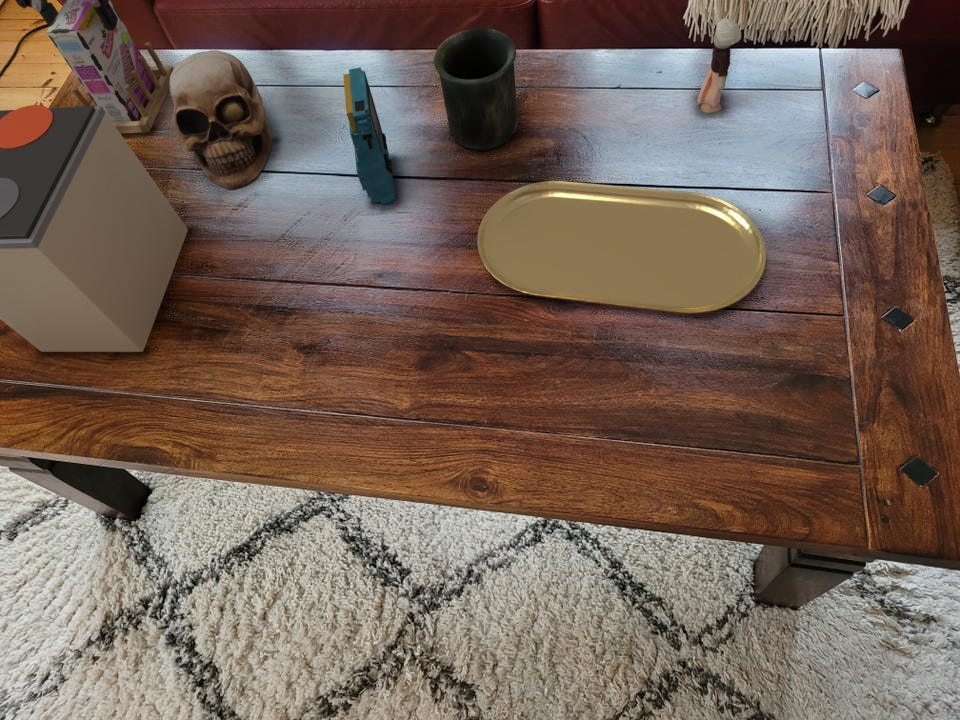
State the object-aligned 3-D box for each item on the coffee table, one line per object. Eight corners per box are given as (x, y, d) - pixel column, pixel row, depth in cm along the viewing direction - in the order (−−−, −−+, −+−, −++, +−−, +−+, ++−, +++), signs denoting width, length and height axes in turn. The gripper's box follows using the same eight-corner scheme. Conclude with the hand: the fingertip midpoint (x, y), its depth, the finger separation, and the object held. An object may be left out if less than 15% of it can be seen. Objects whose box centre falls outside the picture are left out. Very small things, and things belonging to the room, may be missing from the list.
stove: (41, 352, 87) (-99, 241, 69) (96, 231, 97) (-14, 107, 79) (143, 352, 85) (27, 238, 67) (188, 229, 96) (98, 101, 77)
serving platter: (761, 330, 77) (764, 322, 76) (463, 293, 85) (461, 286, 83) (764, 207, 86) (767, 198, 85) (495, 183, 94) (494, 175, 92)
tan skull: (235, 195, 98) (187, 114, 87) (167, 161, 106) (116, 83, 95) (312, 133, 104) (276, 49, 93) (243, 105, 112) (202, 26, 101)
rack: (92, 134, 109) (64, 98, 103) (122, 75, 116) (98, 38, 110) (149, 132, 107) (125, 95, 101) (176, 72, 115) (154, 34, 109)
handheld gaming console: (398, 204, 94) (371, 114, 81) (369, 210, 94) (337, 121, 81) (392, 155, 99) (366, 64, 86) (364, 160, 99) (334, 70, 86)
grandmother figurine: (690, 89, 99) (705, 6, 88) (717, 85, 99) (735, 1, 88) (702, 125, 95) (719, 42, 84) (730, 121, 95) (751, 38, 84)
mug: (442, 154, 98) (427, 82, 87) (455, 87, 105) (443, 13, 95) (517, 154, 96) (511, 81, 86) (526, 86, 103) (521, 11, 93)
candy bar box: (139, 125, 109) (76, 30, 95) (110, 127, 109) (43, 33, 95) (159, 79, 114) (102, -17, 100) (131, 81, 115) (70, -14, 101)
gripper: (72, -111, 87) (140, 10, 101) (-28, -101, 89) (53, 16, 103) (50, -79, 84) (124, 42, 98) (-54, -70, 86) (33, 48, 100)
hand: (87, 29), depth 100 cm, fingers open, 7 cm apart
